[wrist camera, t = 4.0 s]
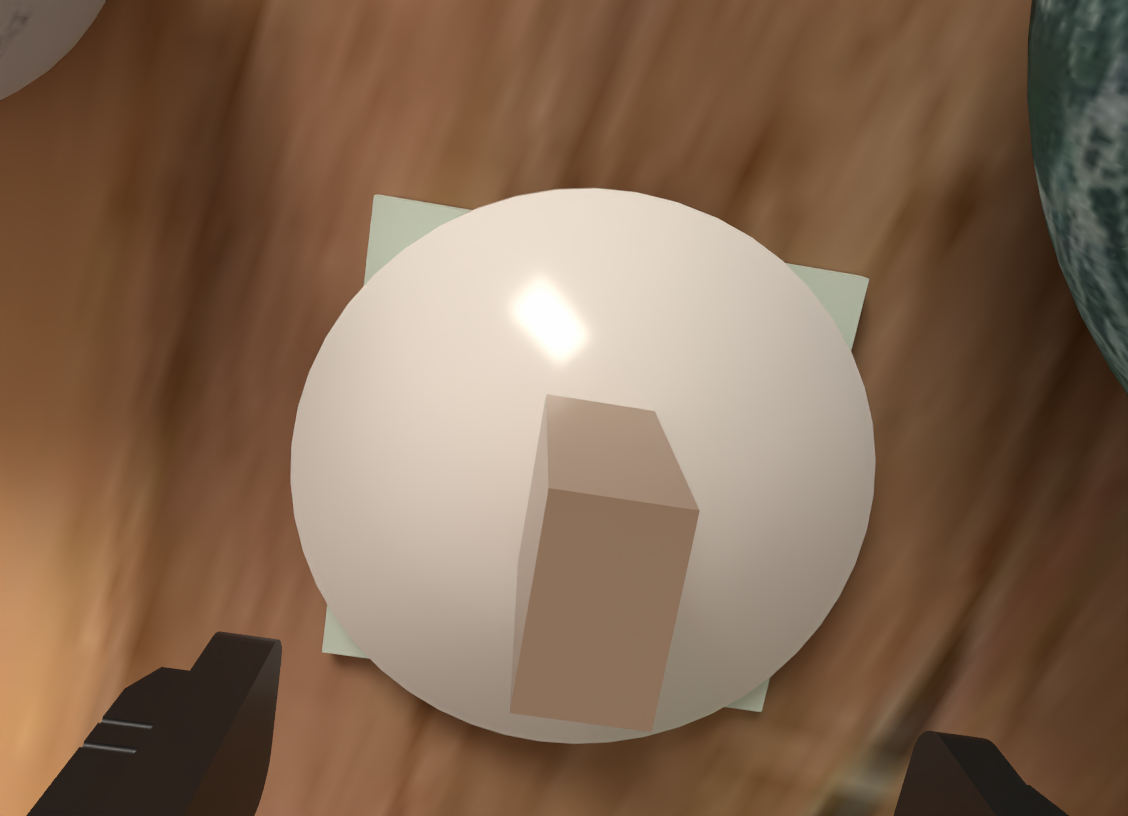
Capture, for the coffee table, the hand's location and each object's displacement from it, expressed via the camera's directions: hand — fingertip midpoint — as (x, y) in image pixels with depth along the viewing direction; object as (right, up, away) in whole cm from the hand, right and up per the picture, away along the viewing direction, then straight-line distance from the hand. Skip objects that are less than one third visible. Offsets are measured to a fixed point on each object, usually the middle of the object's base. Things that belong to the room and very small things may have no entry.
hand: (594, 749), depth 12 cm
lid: (0, +3, +10) cm, 11 cm away
